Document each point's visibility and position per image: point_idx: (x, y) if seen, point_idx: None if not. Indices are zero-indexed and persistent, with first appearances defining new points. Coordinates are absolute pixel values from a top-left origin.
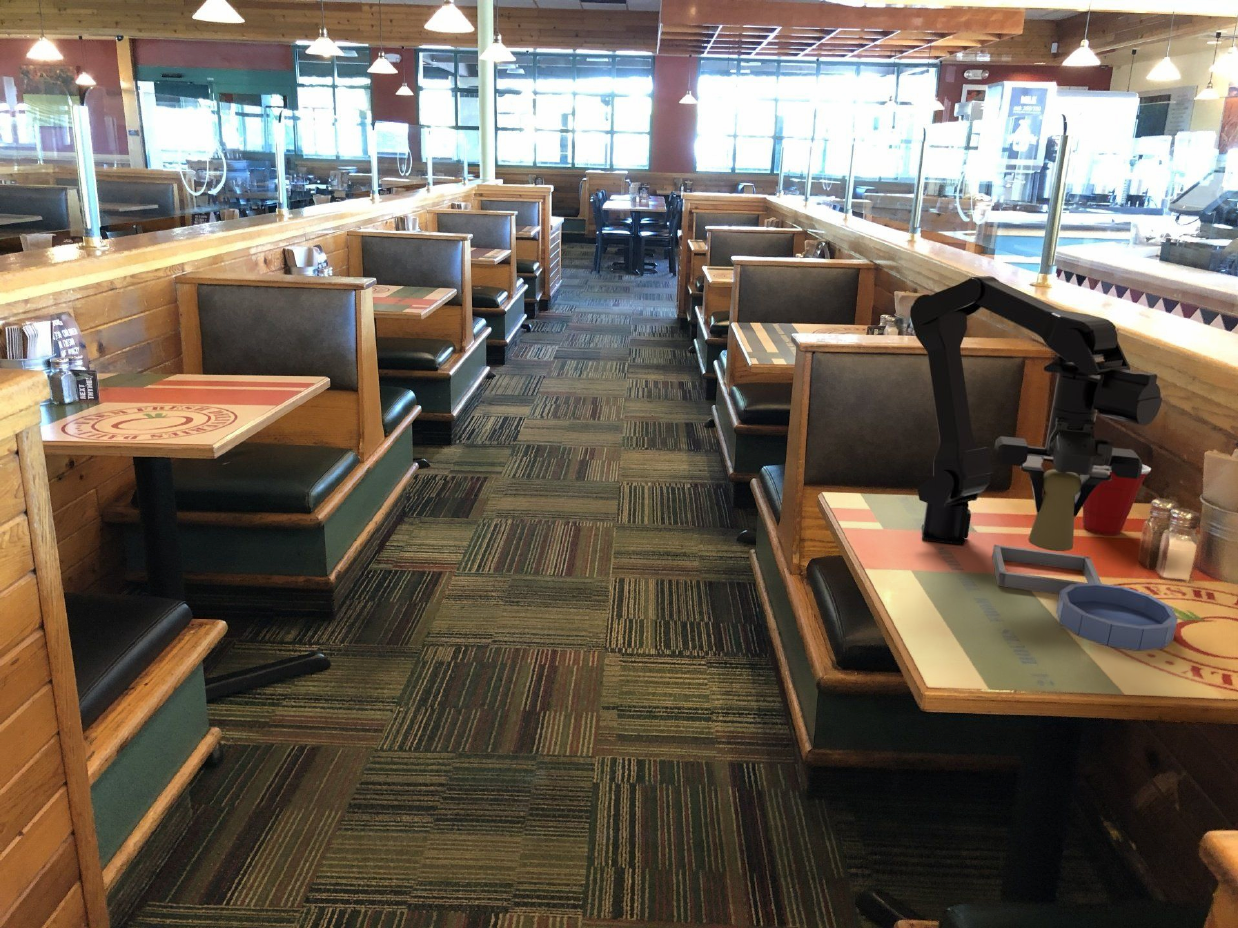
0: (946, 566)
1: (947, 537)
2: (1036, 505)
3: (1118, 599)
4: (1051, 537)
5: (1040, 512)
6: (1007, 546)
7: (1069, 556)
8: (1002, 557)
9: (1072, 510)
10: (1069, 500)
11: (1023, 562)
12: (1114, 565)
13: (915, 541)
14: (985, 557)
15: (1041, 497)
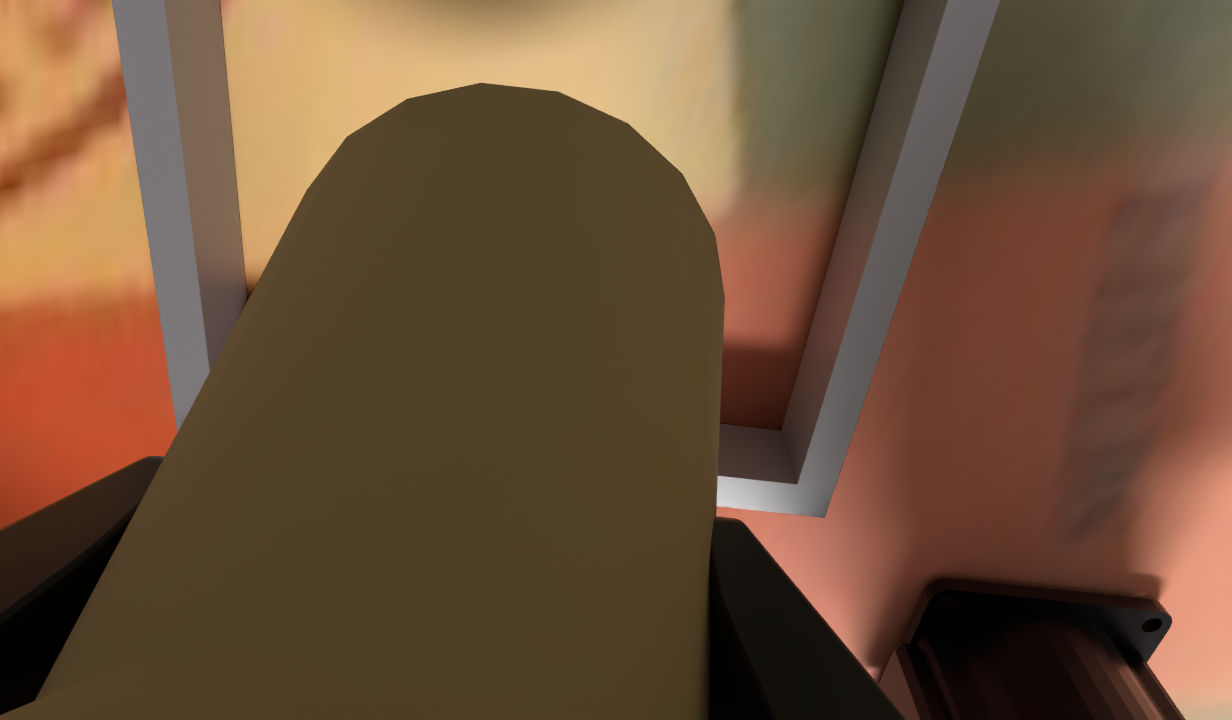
0: (1220, 234)
1: (1036, 621)
2: (794, 588)
3: None
4: (551, 158)
5: (707, 484)
6: (737, 504)
7: None
8: (758, 437)
9: (163, 473)
10: (148, 603)
11: None
12: (53, 488)
13: (1211, 581)
14: (855, 442)
15: (773, 714)
